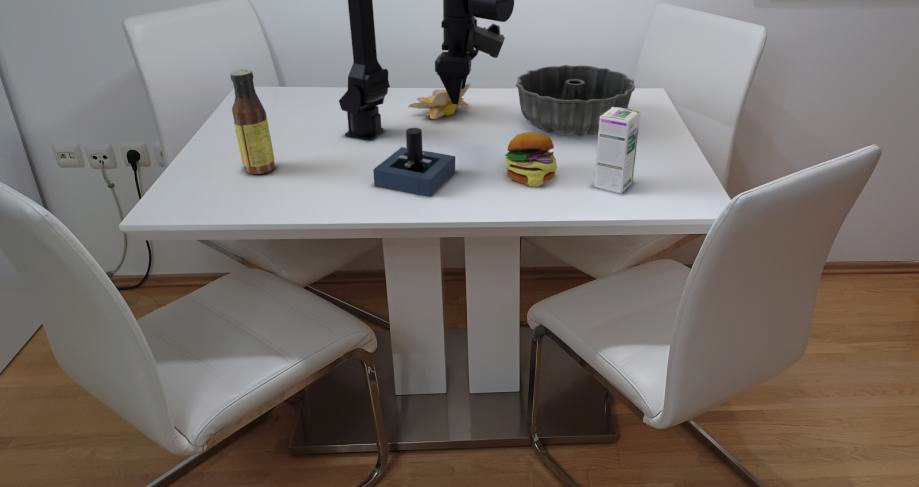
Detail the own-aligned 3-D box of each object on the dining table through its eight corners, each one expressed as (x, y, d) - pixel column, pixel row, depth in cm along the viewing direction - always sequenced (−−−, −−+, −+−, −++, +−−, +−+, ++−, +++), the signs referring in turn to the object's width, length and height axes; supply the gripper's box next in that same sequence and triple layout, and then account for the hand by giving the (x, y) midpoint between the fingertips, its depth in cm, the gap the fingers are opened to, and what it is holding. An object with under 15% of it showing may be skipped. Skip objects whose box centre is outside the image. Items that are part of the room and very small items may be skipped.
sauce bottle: (281, 165, 145) (268, 68, 135) (264, 177, 140) (249, 78, 130) (253, 161, 147) (238, 65, 137) (236, 173, 142) (218, 74, 132)
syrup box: (621, 194, 134) (631, 120, 126) (592, 187, 136) (599, 114, 129) (632, 183, 138) (642, 110, 130) (603, 176, 140) (611, 105, 133)
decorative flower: (447, 91, 180) (451, 55, 173) (479, 112, 174) (484, 75, 168) (402, 110, 171) (404, 73, 164) (434, 132, 166) (438, 95, 159)
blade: (392, 182, 138) (390, 134, 133) (408, 169, 143) (406, 122, 138) (423, 188, 136) (422, 139, 131) (438, 175, 141) (437, 127, 136)
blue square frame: (374, 186, 137) (373, 169, 135) (402, 162, 146) (401, 146, 145) (430, 196, 133) (429, 179, 131) (455, 172, 142) (455, 155, 141)
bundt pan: (499, 135, 159) (500, 92, 154) (532, 99, 180) (534, 59, 175) (618, 152, 151) (624, 106, 146) (638, 111, 172) (643, 70, 167)
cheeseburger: (508, 189, 135) (507, 136, 132) (501, 178, 145) (500, 129, 142) (561, 186, 136) (561, 133, 133) (550, 176, 146) (550, 126, 143)
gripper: (497, 28, 123) (495, 114, 131) (506, 4, 139) (503, 83, 147) (433, 25, 124) (435, 111, 132) (449, 2, 140) (450, 80, 148)
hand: (458, 96), depth 140 cm, fingers open, 9 cm apart
